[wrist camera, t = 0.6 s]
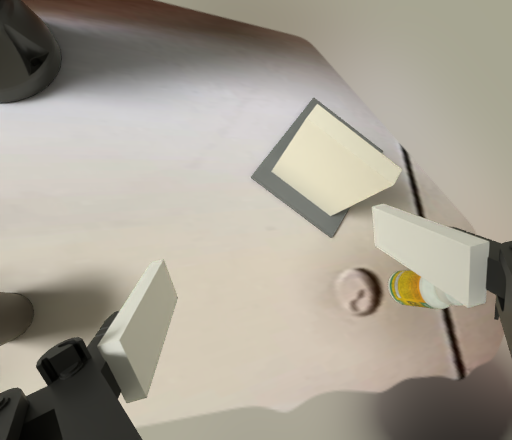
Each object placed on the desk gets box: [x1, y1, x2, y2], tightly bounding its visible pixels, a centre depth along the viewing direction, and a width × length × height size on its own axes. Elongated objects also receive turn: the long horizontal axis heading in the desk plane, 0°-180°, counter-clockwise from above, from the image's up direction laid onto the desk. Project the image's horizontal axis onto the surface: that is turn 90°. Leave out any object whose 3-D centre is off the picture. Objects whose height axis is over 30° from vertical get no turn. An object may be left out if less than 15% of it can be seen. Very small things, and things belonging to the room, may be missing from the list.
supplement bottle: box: [388, 270, 463, 309], centre depth 37 cm, size 5×5×10 cm
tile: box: [271, 104, 402, 216], centre depth 34 cm, size 2×12×14 cm, turn 55°
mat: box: [251, 98, 383, 238], centre depth 43 cm, size 20×16×1 cm
